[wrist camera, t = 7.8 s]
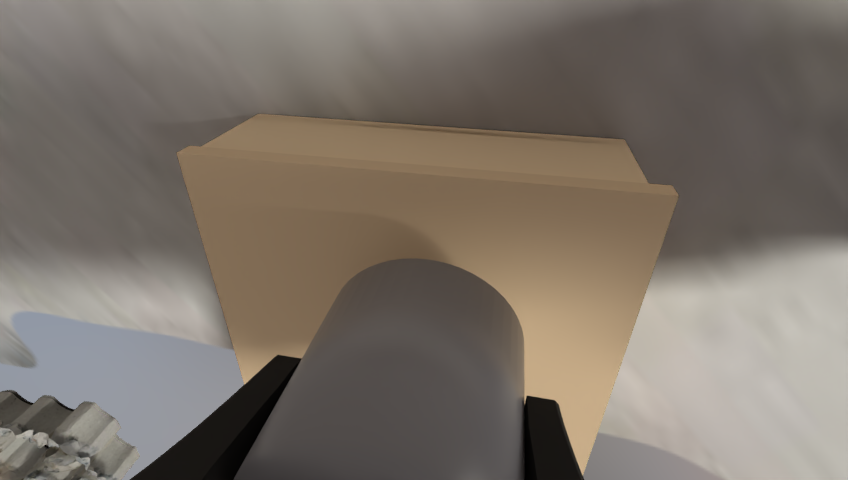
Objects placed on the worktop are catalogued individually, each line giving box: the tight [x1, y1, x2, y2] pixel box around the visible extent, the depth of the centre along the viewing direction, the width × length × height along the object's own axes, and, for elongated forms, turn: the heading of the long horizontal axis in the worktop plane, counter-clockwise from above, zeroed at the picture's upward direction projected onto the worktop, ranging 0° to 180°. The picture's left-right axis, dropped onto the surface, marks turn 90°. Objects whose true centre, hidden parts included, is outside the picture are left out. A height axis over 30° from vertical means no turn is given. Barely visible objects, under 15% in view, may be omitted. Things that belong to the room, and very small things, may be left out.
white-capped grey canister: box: [234, 258, 525, 480], centre depth 10 cm, size 5×5×5 cm
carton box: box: [201, 114, 648, 183], centre depth 18 cm, size 13×14×4 cm
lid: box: [176, 146, 679, 475], centre depth 16 cm, size 13×14×1 cm
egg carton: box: [0, 390, 140, 480], centre depth 31 cm, size 11×8×4 cm
